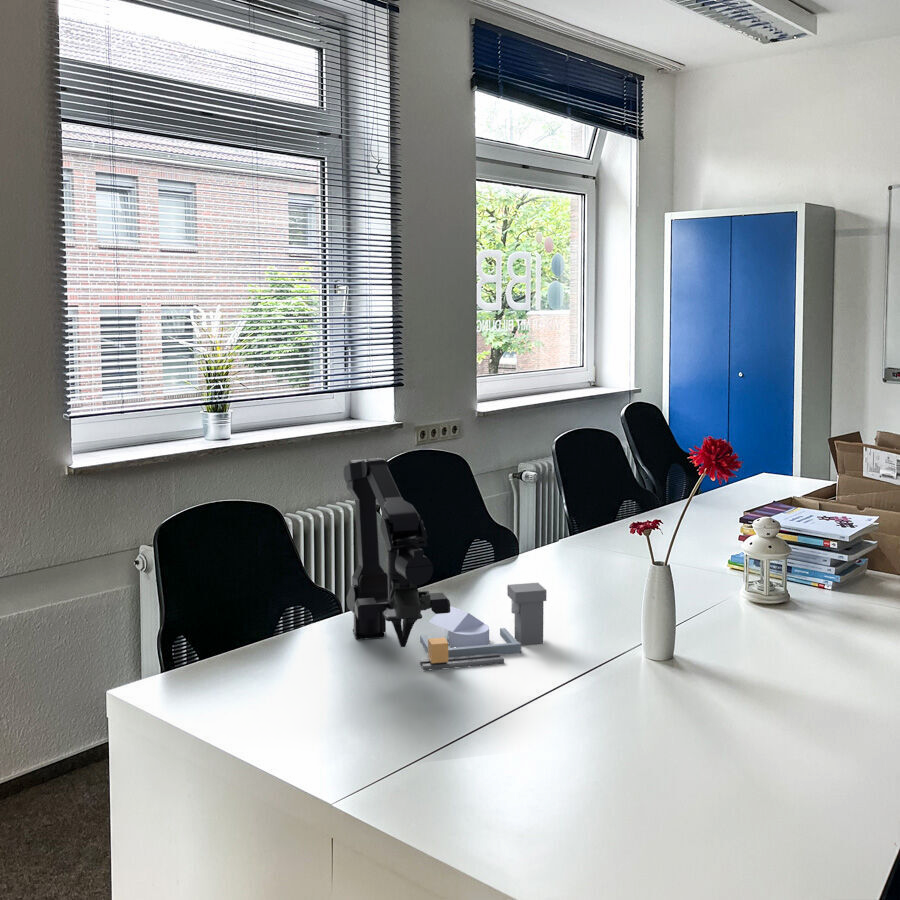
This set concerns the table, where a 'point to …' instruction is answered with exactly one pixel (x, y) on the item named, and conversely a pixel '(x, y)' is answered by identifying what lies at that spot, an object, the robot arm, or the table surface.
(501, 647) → the press bed
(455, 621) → the wedge on round base
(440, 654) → the tan wooden cube
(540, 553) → the table surface
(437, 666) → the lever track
